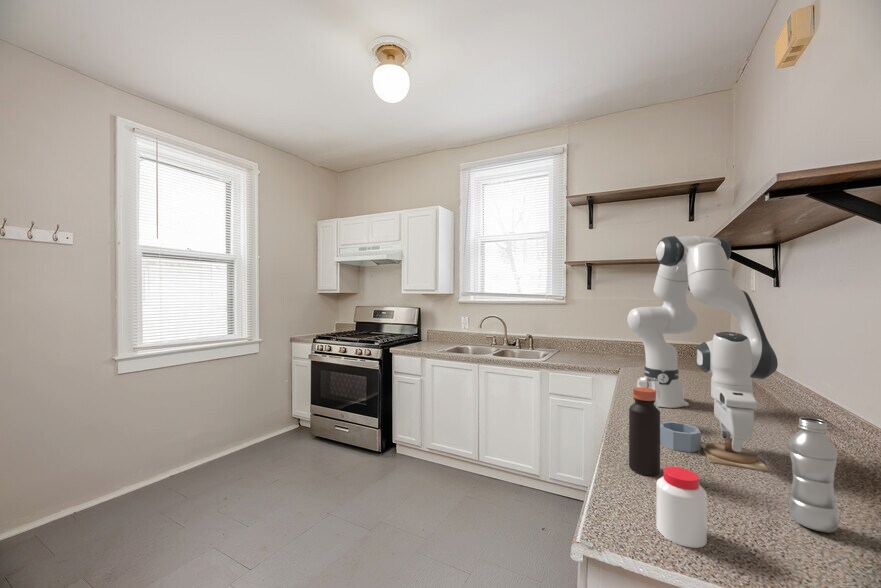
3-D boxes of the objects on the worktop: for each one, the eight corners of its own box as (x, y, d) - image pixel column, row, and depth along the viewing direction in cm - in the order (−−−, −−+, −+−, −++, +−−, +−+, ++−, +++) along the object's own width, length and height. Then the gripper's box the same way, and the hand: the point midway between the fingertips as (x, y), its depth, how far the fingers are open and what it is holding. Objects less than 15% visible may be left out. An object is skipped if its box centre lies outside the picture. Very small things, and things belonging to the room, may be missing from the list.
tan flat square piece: (698, 442, 108) (698, 441, 108) (749, 450, 103) (749, 448, 103) (710, 462, 96) (710, 460, 96) (769, 472, 91) (769, 470, 91)
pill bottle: (714, 551, 62) (715, 486, 62) (663, 543, 64) (663, 480, 64) (696, 524, 70) (696, 466, 70) (651, 517, 72) (651, 461, 72)
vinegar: (655, 479, 87) (656, 394, 87) (625, 470, 91) (625, 389, 91) (663, 469, 92) (663, 389, 92) (633, 461, 96) (634, 384, 96)
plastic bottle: (836, 543, 65) (836, 429, 65) (784, 523, 70) (784, 418, 70) (842, 529, 68) (842, 421, 69) (792, 511, 74) (792, 412, 74)
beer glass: (653, 419, 128) (653, 376, 128) (663, 427, 121) (664, 381, 121) (632, 419, 129) (633, 376, 129) (641, 426, 122) (641, 381, 122)
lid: (701, 443, 107) (701, 429, 107) (749, 450, 102) (749, 436, 102) (711, 458, 97) (711, 443, 97) (764, 467, 92) (764, 451, 92)
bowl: (657, 436, 114) (657, 419, 114) (695, 441, 109) (695, 424, 110) (661, 448, 105) (661, 430, 105) (703, 454, 101) (703, 436, 101)
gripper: (707, 383, 110) (707, 429, 110) (727, 401, 92) (727, 456, 92) (733, 385, 108) (733, 432, 108) (759, 404, 89) (759, 461, 89)
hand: (730, 444), depth 100 cm, fingers open, 8 cm apart
